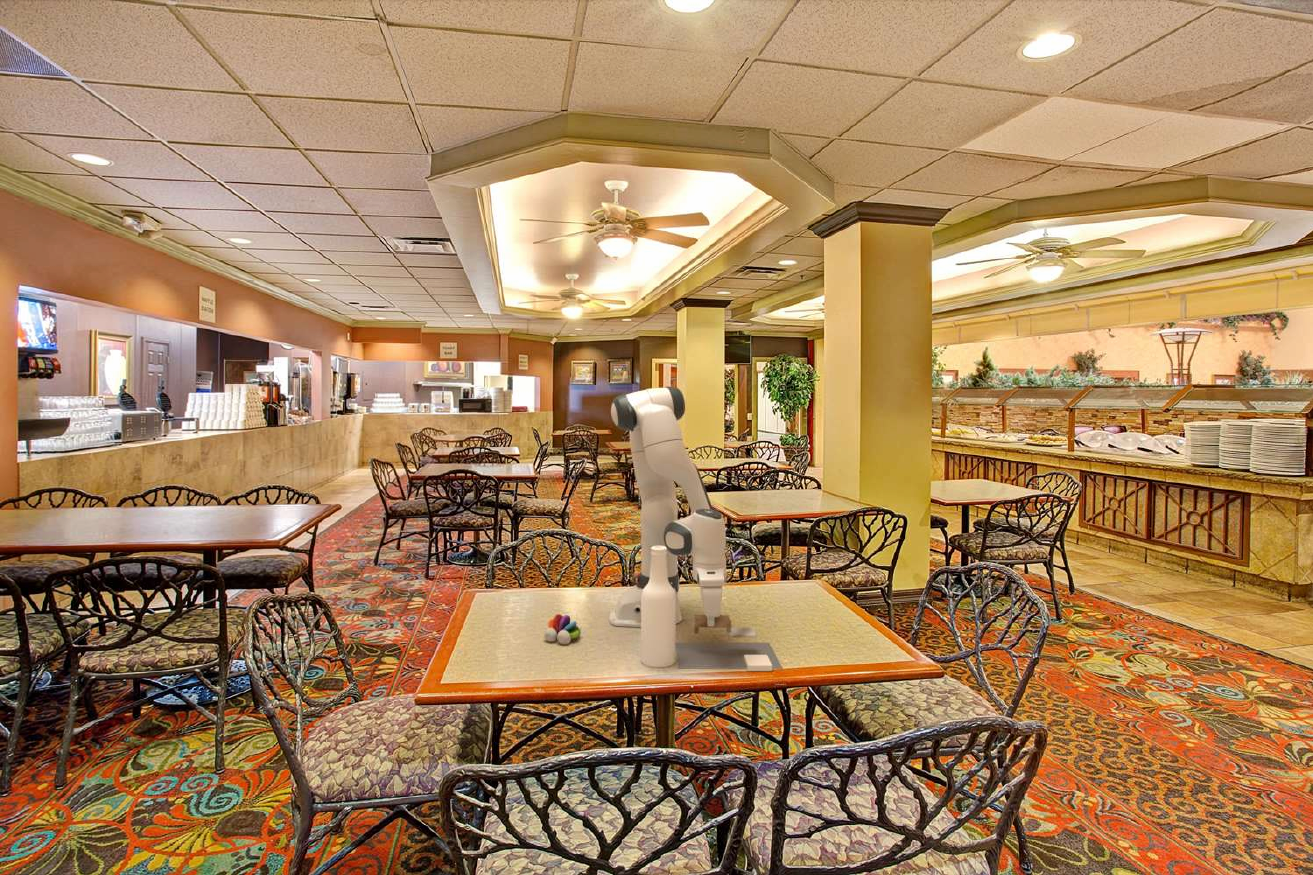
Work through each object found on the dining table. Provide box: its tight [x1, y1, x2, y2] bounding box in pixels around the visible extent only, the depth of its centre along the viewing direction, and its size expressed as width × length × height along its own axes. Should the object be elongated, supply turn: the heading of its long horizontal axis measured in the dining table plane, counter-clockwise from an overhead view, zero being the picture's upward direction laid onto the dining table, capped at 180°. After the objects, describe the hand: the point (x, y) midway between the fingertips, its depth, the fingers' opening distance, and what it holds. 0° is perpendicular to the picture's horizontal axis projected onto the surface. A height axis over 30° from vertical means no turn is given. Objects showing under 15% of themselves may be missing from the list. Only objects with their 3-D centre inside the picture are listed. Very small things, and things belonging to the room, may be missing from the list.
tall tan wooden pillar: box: [694, 614, 757, 639], centre depth 173 cm, size 16×6×4 cm, turn 90°
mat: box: [675, 642, 783, 670], centre depth 172 cm, size 26×18×1 cm
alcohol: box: [640, 546, 677, 668], centre depth 167 cm, size 9×9×30 cm
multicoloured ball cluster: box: [544, 613, 582, 646], centre depth 184 cm, size 8×10×7 cm
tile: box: [744, 655, 773, 672], centre depth 165 cm, size 6×2×7 cm
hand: (710, 623), depth 173 cm, fingers closed on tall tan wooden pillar, 2 cm apart
